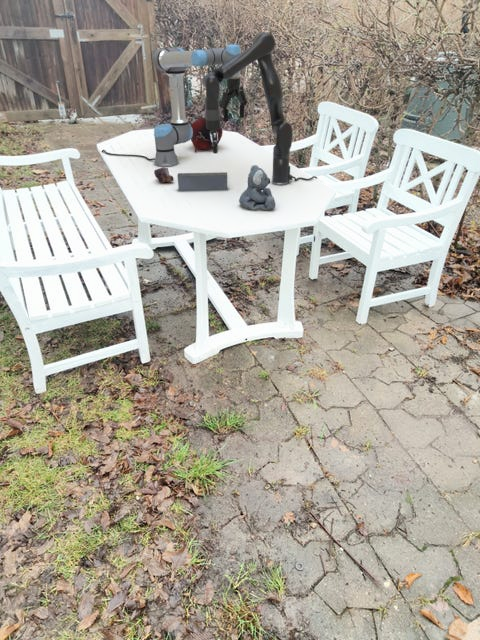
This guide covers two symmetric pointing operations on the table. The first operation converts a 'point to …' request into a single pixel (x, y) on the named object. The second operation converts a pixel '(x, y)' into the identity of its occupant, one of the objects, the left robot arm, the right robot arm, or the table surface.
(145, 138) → the table surface
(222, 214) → the table surface
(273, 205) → the koala plush
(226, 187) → the bar
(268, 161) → the table surface
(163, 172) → the rock
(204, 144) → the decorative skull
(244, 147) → the table surface
